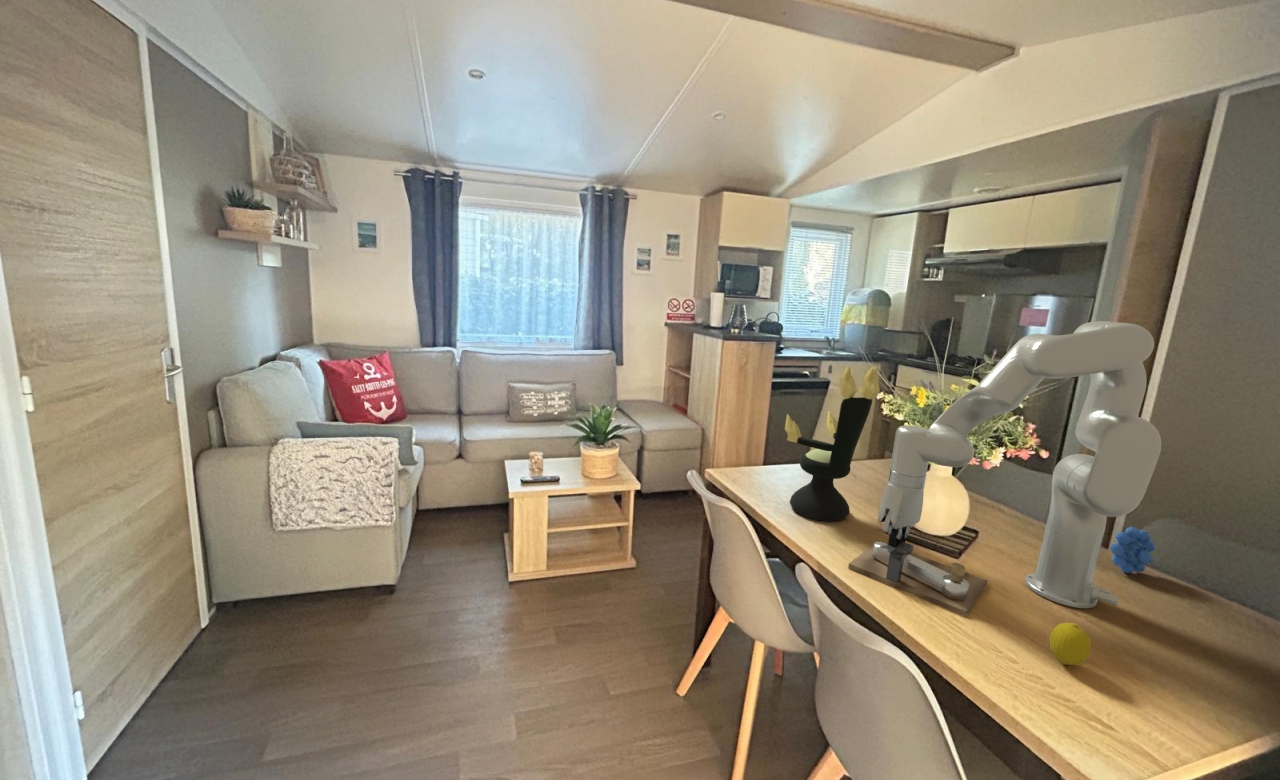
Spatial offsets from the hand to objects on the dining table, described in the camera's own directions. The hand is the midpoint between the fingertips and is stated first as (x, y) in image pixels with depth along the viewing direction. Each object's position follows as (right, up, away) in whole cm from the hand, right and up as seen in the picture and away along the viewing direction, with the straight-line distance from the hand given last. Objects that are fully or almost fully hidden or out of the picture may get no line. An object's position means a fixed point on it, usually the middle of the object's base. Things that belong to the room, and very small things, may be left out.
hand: (895, 551), depth 124 cm
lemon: (+14, -10, -32) cm, 37 cm away
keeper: (-3, -3, -7) cm, 8 cm away
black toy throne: (-7, +2, +27) cm, 28 cm away
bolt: (+1, -3, -8) cm, 8 cm away
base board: (+2, -4, -5) cm, 7 cm away
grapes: (+58, -6, +2) cm, 58 cm away
